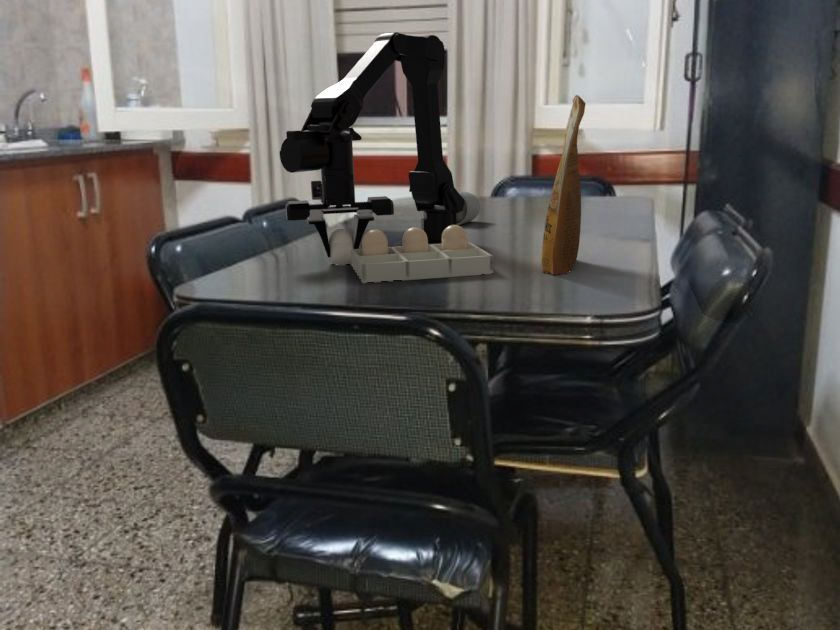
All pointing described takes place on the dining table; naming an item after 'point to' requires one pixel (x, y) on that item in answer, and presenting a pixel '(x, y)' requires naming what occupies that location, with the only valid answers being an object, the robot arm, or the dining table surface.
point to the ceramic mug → (468, 208)
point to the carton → (419, 257)
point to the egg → (341, 247)
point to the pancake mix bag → (565, 203)
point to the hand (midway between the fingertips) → (342, 256)
